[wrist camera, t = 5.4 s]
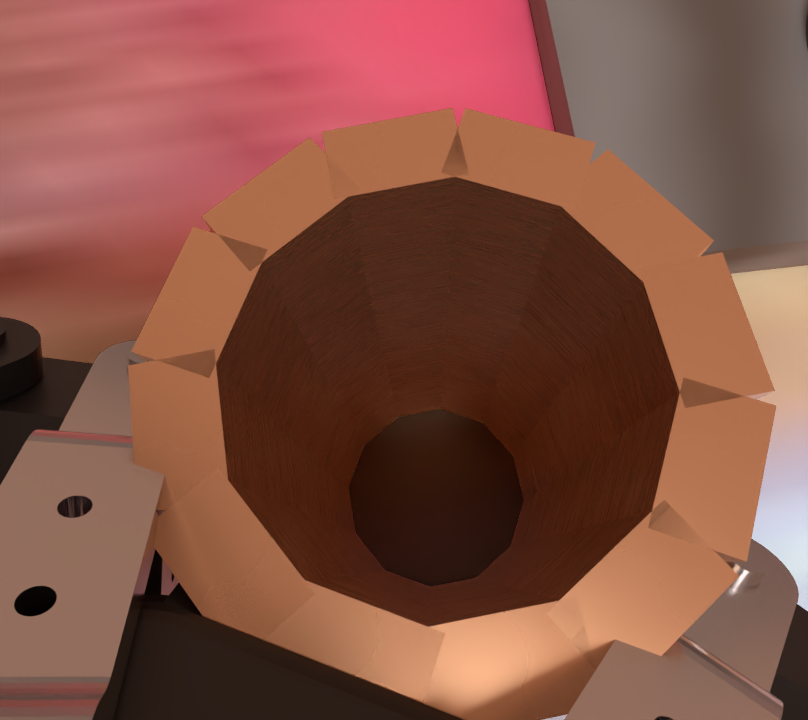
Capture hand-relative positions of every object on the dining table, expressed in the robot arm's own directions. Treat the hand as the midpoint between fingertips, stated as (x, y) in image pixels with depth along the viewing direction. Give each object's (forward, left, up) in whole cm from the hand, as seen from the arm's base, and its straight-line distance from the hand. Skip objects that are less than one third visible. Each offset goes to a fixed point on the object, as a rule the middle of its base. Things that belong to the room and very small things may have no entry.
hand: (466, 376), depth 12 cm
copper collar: (0, -2, -4) cm, 5 cm away
